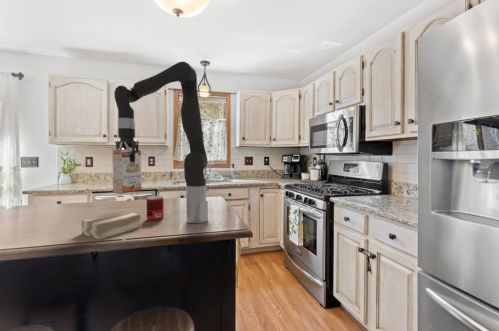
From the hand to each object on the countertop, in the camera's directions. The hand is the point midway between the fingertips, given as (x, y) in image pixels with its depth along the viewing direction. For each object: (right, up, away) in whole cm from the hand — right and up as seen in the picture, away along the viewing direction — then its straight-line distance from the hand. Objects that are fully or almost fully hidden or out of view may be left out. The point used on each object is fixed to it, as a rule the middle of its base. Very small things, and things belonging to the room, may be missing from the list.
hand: (127, 161), depth 124 cm
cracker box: (0, -15, +1) cm, 15 cm away
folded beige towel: (+3, -30, -18) cm, 35 cm away
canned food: (+13, -29, +1) cm, 32 cm away
